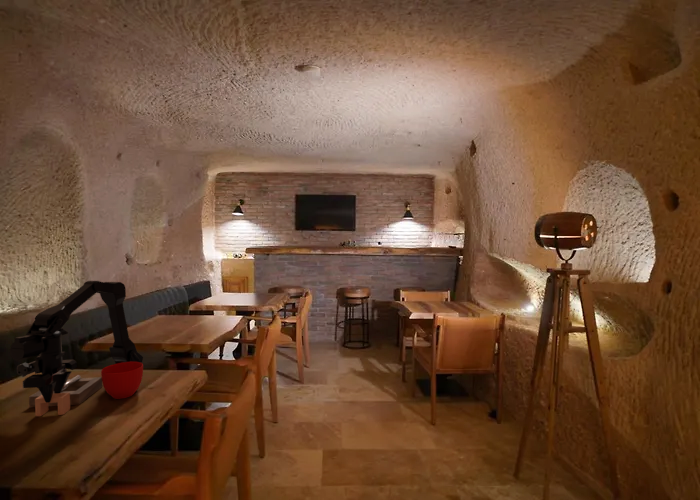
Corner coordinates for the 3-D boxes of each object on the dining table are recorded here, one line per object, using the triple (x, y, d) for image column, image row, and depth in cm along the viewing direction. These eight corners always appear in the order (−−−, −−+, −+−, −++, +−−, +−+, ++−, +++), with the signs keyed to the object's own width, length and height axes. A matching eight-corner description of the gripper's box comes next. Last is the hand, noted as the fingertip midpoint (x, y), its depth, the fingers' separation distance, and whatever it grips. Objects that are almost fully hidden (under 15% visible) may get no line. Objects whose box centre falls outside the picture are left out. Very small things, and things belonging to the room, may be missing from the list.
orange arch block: (70, 409, 131) (69, 392, 131) (63, 414, 127) (62, 397, 127) (43, 410, 130) (42, 394, 130) (35, 416, 126) (34, 399, 126)
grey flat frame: (102, 386, 150) (102, 377, 150) (79, 404, 135) (79, 393, 134) (57, 389, 148) (57, 379, 148) (29, 407, 133) (28, 396, 132)
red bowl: (157, 384, 152) (156, 358, 152) (128, 403, 135) (127, 374, 135) (125, 383, 153) (124, 357, 153) (93, 402, 136) (92, 373, 136)
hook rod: (80, 379, 148) (80, 374, 148) (58, 393, 135) (58, 389, 134) (76, 379, 148) (75, 375, 148) (53, 394, 134) (53, 389, 134)
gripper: (41, 344, 136) (43, 389, 137) (1, 361, 117) (4, 413, 118) (77, 343, 137) (78, 387, 138) (43, 359, 119) (45, 411, 120)
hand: (52, 399), depth 128 cm, fingers open, 5 cm apart
